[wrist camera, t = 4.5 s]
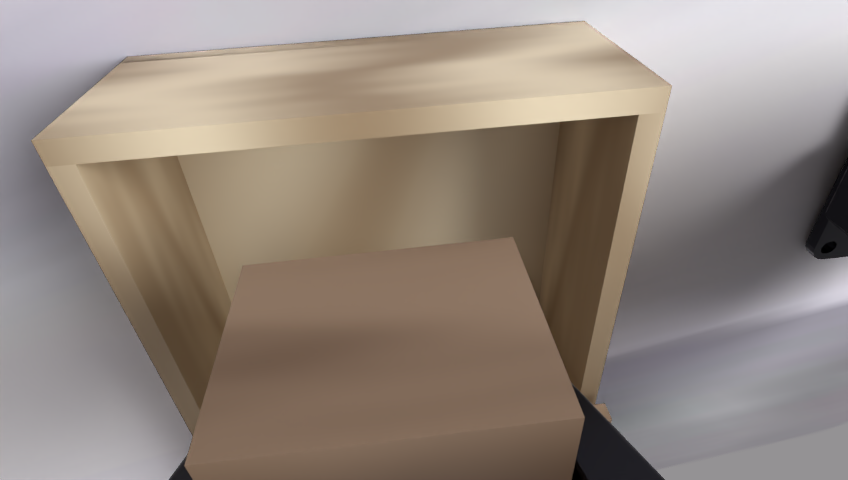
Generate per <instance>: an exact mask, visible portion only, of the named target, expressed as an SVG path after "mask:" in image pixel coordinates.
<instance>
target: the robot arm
mask: <svg viewBox="0 0 848 480" xmlns="http://www.w3.org/2000/svg"><path fill="white" fill-rule="evenodd" d="M805 247H806V250H807V251H809V252H810V253H811V254H812V255H813V256H814V257H816V258H817V259H828V258H838V257H847V256H848V158H847V160H846V162H845V164H844V166H843V168H842V170H841V172H840V174H839V176H838V178H837V180H836V182H835V184H834V186H833V189H832V191H831V193H830V195H829V197H828V199H827V201H826V203H825V205H824V207H823V209H822V211H821V213H820V215H819V217H818V219H817V221H816V223H815V225H814V227H813V229H812V231H811V233H810V235H809V237H808V239H807V242H806V245H805ZM571 384H572V383H571ZM572 387H573V389H574V392H575V394H576V397H577V399H578V402H579V404H580V407H581V409H582V412H583V414H584V417H585V419H584V424H583V429H582V433H581V438H580V443H579V447H578V452H577V457H576V461H575V466H574V471H573V475H572V480H665V479H664V478H663V477H662V476H661V475H660V474H659V473H658V472H657V471H656V470H655V469H654V468H653V467H652V466H651V465H650V464H649V463H648V462H647V461H646V459H645V458H644V457H643V456H642V455H641V454H640V453H639V452H638V451H637V450H636V449H635V448H634V447H633V446H632V445H631V444H630V443H629V442H628V441H627V440H626V439H625V438H624V437H623V436H622V435H621V434H620V432H619V431H618V430H617V429H616V428H615V427H614V426H613V425H612V424H611V423H610V422H609V421H608V420H607V419H606V418H605V417H604V416H603V415H602V414H601V413H600V412H599V411H598V410H597V409H596V408H595V407H594V405H593V404H592V403H591V402H590V401H589V400H588V399H587V398H586V397H585V396H584V395H583V394H582V393H581V392H580V391H579V390H578V389H577V388H576V387H575V386H574V385H573V384H572ZM187 455H188V454H187ZM186 458H187V456H186V457H185V458H184V460H183V461H182V463H181V464H180V465H179V467H178V468H177V469H176V471H175V472H174V473H173V475H172V476H171V477H170V479H169V480H193V479H192V478H191V476H190V474H189V473H188V471H187V469H186V468H185V466H184V465H185V462H186Z"/></svg>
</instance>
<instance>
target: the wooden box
mask: <svg viewBox="0 0 848 480" xmlns="http://www.w3.org/2000/svg"><path fill="white" fill-rule="evenodd" d="M671 88H672V85H671V84H669V83H668V82H666V81H665V80H664V79H662V78H661V77H660V76H658V75H657V74H656V73H654V72H653V71H651V70H650V69H649V68H647V67H646V66H645V65H643V64H642V63H641V62H639V61H638V60H637V59H635V58H634V57H632V56H631V55H630V54H628V53H627V52H626V51H624V50H623V49H622V48H620V47H619V46H618V45H616V44H615V43H613V42H612V41H611V40H609V39H608V38H607V37H605V36H604V35H603V34H601V33H600V32H599V31H597V30H596V29H594V28H593V27H592V26H590V25H589V24H588V23H586V22H585V21H577V22H564V23H552V24H539V25H526V26H513V27H500V28H488V29H475V30H462V31H449V32H437V33H424V34H411V35H398V36H386V37H373V38H360V39H347V40H335V41H322V42H309V43H296V44H284V45H271V46H258V47H245V48H233V49H220V50H207V51H194V52H182V53H169V54H156V55H143V56H131V57H127V58H125V59H124V60H123V61H122V62H121V63H120V64H119V65H117V66H116V67H115V68H114V69H113V70H112V71H111V72H109V73H108V74H107V75H106V76H105V77H104V78H102V79H101V80H100V81H99V82H98V83H97V84H96V85H94V86H93V87H92V88H91V89H90V90H89V91H87V92H86V93H85V94H84V95H83V96H82V97H81V98H79V99H78V100H77V101H76V102H75V103H74V104H73V105H71V106H70V107H69V108H68V109H67V110H66V111H64V112H63V113H62V114H61V115H60V116H59V117H58V118H56V119H55V120H54V121H53V122H52V123H51V124H49V125H48V126H47V127H46V128H45V129H44V130H43V131H41V132H40V133H39V134H38V135H37V136H36V137H35V138H33V139H32V140H31V141H32V143H33V145H34V147H35V149H36V150H37V152H38V154H39V156H40V158H41V160H42V161H43V163H44V165H45V167H46V169H47V171H48V172H49V174H50V176H51V178H52V180H53V182H54V183H55V185H56V187H57V189H58V191H59V193H60V194H61V196H62V198H63V200H64V202H65V204H66V205H67V207H68V209H69V211H70V213H71V214H72V216H73V218H74V220H75V222H76V224H77V225H78V227H79V229H80V231H81V233H82V235H83V236H84V238H85V240H86V242H87V244H88V246H89V247H90V249H91V251H92V253H93V255H94V257H95V258H96V260H97V262H98V264H99V266H100V268H101V269H102V271H103V273H104V275H105V277H106V278H107V280H108V282H109V284H110V286H111V288H112V289H113V291H114V293H115V295H116V297H117V299H118V300H119V302H120V304H121V306H122V308H123V310H124V311H125V313H126V315H127V317H128V319H129V321H130V322H131V324H132V326H133V328H134V330H135V332H136V333H137V335H138V337H139V339H140V341H141V342H142V344H143V346H144V348H145V350H146V352H147V353H148V355H149V357H150V359H151V361H152V363H153V364H154V366H155V368H156V370H157V372H158V374H159V375H160V377H161V379H162V381H163V383H164V385H165V386H166V388H167V390H168V392H169V394H170V396H171V397H172V399H173V401H174V403H175V405H176V406H177V408H178V410H179V412H180V414H181V416H182V417H183V419H184V421H185V423H186V425H187V427H188V428H189V430H190V432H191V434H192V436H193V434H194V431H195V427H196V424H197V420H198V417H199V413H200V410H201V407H202V403H203V400H204V396H205V393H206V389H207V386H208V382H209V379H210V376H211V372H212V369H213V365H214V362H215V358H216V355H217V351H218V348H219V345H220V341H221V338H222V334H223V331H224V327H225V324H226V321H227V317H228V314H229V310H230V307H231V303H232V300H233V296H234V293H235V290H236V286H237V283H238V279H239V276H240V272H241V269H242V265H252V264H261V263H271V262H280V261H290V260H300V259H309V258H319V257H328V256H338V255H347V254H357V253H367V252H376V251H386V250H395V249H405V248H414V247H424V246H434V245H443V244H453V243H462V242H472V241H481V240H491V239H501V238H510V237H513V238H514V241H515V243H516V246H517V248H518V251H519V253H520V256H521V258H522V261H523V263H524V266H525V268H526V271H527V273H528V276H529V278H530V281H531V283H532V286H533V288H534V291H535V293H536V296H537V299H538V301H539V304H540V306H541V309H542V311H543V314H544V316H545V319H546V321H547V324H548V326H549V329H550V331H551V334H552V336H553V339H554V341H555V344H556V346H557V349H558V351H559V354H560V356H561V359H562V361H563V364H564V366H565V369H566V371H567V374H568V376H569V379H570V381H571V383H572V384H573V385H574V386H575V387H576V388H577V389H578V390H579V391H580V392H581V393H582V394H583V395H584V396H585V397H586V398H587V399H588V400H589V401H590V402H591V403H592V404H593V405H595V402H596V397H597V393H598V389H599V385H600V381H601V377H602V373H603V369H604V364H605V360H606V356H607V352H608V348H609V344H610V340H611V336H612V331H613V327H614V323H615V319H616V315H617V311H618V307H619V303H620V298H621V294H622V290H623V286H624V282H625V278H626V274H627V270H628V265H629V261H630V257H631V253H632V249H633V245H634V241H635V237H636V232H637V228H638V224H639V220H640V216H641V212H642V208H643V203H644V199H645V195H646V191H647V187H648V183H649V179H650V175H651V170H652V166H653V162H654V158H655V154H656V150H657V146H658V142H659V137H660V133H661V129H662V125H663V121H664V117H665V113H666V109H667V104H668V100H669V96H670V92H671Z"/></svg>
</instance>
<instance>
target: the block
mask: <svg viewBox="0 0 848 480" xmlns="http://www.w3.org/2000/svg"><path fill="white" fill-rule="evenodd" d="M584 419H585V417H584V414H583V412H582V409H581V407H580V404H579V402H578V399H577V397H576V394H575V392H574V389H573V387H572V384H571V381H570V379H569V376H568V374H567V371H566V369H565V366H564V364H563V361H562V359H561V356H560V354H559V351H558V349H557V346H556V344H555V341H554V339H553V336H552V334H551V331H550V329H549V326H548V324H547V321H546V319H545V316H544V314H543V311H542V309H541V306H540V304H539V301H538V299H537V296H536V293H535V291H534V288H533V286H532V283H531V281H530V278H529V276H528V273H527V271H526V268H525V266H524V263H523V261H522V258H521V256H520V253H519V251H518V248H517V246H516V243H515V241H514V238H513V237H510V238H501V239H491V240H481V241H472V242H462V243H453V244H443V245H434V246H424V247H414V248H405V249H395V250H386V251H376V252H367V253H357V254H347V255H338V256H328V257H319V258H309V259H300V260H290V261H280V262H271V263H261V264H252V265H242V269H241V272H240V276H239V279H238V283H237V286H236V290H235V293H234V296H233V300H232V303H231V307H230V310H229V314H228V317H227V321H226V324H225V327H224V331H223V334H222V338H221V341H220V345H219V348H218V351H217V355H216V358H215V362H214V365H213V369H212V372H211V376H210V379H209V382H208V386H207V389H206V393H205V396H204V400H203V403H202V407H201V410H200V413H199V417H198V420H197V424H196V427H195V431H194V434H193V437H192V441H191V444H190V448H189V451H188V455H187V458H186V462H185V465H184V466H185V468H186V469H187V471H188V473H189V474H190V476H191V478H192V479H193V480H572V475H573V471H574V466H575V461H576V457H577V452H578V447H579V443H580V438H581V433H582V429H583V424H584Z"/></svg>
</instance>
